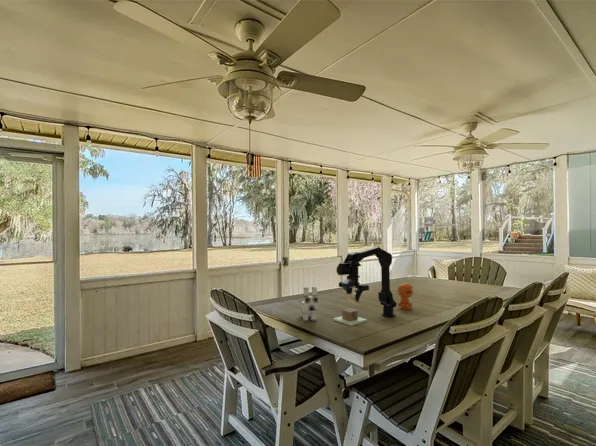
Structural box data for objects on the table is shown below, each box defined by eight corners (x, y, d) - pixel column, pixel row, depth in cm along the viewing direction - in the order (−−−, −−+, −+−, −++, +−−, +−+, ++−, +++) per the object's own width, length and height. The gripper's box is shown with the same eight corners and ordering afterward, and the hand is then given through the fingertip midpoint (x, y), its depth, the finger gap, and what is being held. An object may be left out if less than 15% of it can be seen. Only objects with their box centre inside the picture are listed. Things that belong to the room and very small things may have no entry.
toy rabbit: (311, 315, 199) (311, 283, 199) (318, 323, 181) (317, 288, 182) (300, 315, 197) (300, 283, 198) (305, 323, 180) (305, 289, 181)
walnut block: (349, 316, 191) (349, 308, 191) (357, 319, 186) (357, 310, 186) (342, 318, 187) (342, 310, 187) (350, 321, 182) (350, 312, 182)
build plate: (349, 316, 196) (349, 314, 196) (366, 321, 185) (366, 319, 185) (333, 320, 187) (333, 318, 187) (351, 325, 176) (351, 323, 176)
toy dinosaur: (416, 310, 209) (416, 283, 209) (400, 310, 209) (399, 283, 209) (410, 306, 220) (410, 280, 220) (395, 306, 220) (395, 280, 220)
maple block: (352, 301, 187) (352, 292, 187) (359, 302, 183) (359, 294, 184) (347, 302, 184) (347, 293, 184) (354, 303, 180) (354, 295, 180)
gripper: (332, 273, 186) (332, 300, 186) (357, 277, 172) (357, 305, 171) (344, 271, 193) (344, 297, 193) (369, 275, 179) (369, 302, 179)
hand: (353, 300), depth 184 cm, fingers closed on maple block, 5 cm apart
